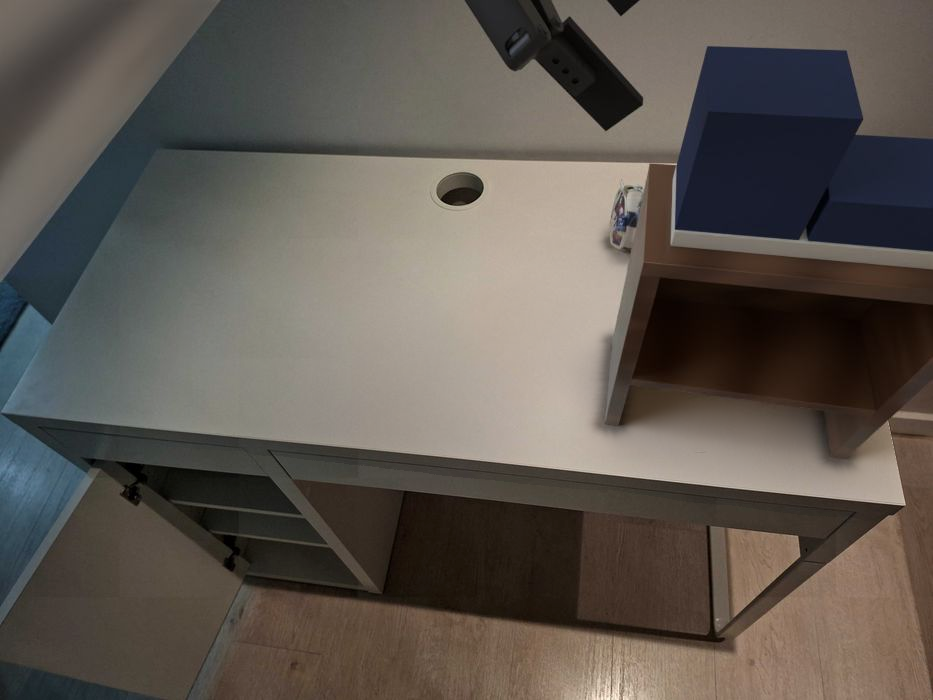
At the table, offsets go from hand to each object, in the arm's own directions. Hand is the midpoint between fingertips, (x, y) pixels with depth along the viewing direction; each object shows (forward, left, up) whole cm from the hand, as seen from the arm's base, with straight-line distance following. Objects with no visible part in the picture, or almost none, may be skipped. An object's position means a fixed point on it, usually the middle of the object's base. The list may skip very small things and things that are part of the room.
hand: (631, 53), depth 39 cm
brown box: (+5, -16, -41) cm, 45 cm away
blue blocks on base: (+5, -16, -13) cm, 21 cm away
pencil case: (+27, -5, -42) cm, 50 cm away
